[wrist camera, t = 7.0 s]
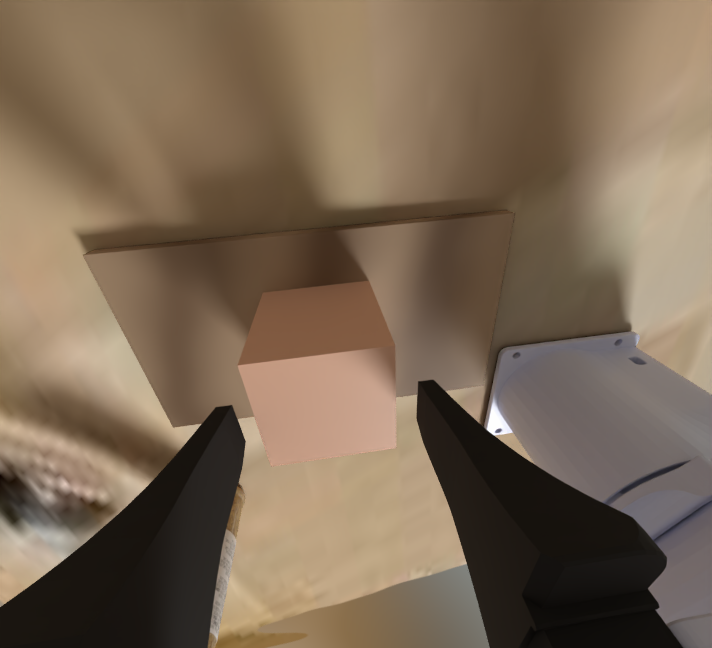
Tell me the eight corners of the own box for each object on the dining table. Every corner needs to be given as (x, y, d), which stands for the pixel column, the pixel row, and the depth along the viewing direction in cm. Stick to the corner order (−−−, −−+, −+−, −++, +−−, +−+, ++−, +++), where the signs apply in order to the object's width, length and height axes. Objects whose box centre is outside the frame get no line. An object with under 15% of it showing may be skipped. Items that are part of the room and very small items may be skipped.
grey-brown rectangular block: (506, 210, 16) (595, 240, 11) (478, 377, 21) (528, 448, 16) (93, 249, 14) (-23, 305, 9) (178, 417, 20) (132, 508, 15)
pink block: (369, 280, 16) (395, 345, 11) (373, 364, 19) (396, 447, 14) (262, 292, 16) (237, 365, 10) (283, 376, 18) (270, 466, 13)
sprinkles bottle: (179, 506, 24) (58, 831, 13) (193, 471, 23) (67, 811, 11) (237, 515, 26) (175, 813, 14) (255, 482, 24) (200, 794, 13)
